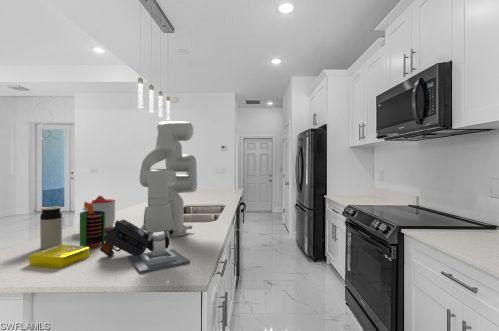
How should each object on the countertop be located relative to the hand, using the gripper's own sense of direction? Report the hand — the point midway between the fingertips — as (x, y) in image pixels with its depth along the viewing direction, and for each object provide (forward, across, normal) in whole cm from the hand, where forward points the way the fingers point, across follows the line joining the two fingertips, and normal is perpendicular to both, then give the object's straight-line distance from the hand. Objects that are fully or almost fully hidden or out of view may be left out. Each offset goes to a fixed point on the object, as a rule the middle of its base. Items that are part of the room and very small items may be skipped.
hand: (158, 248), depth 110 cm
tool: (+5, +8, -14) cm, 17 cm away
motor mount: (+5, 0, 0) cm, 5 cm away
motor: (+5, +19, -38) cm, 43 cm away
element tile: (+6, +31, -23) cm, 39 cm away
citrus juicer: (+5, +12, -71) cm, 72 cm away
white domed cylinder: (+2, 0, 0) cm, 2 cm away
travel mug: (+5, +34, -47) cm, 58 cm away
